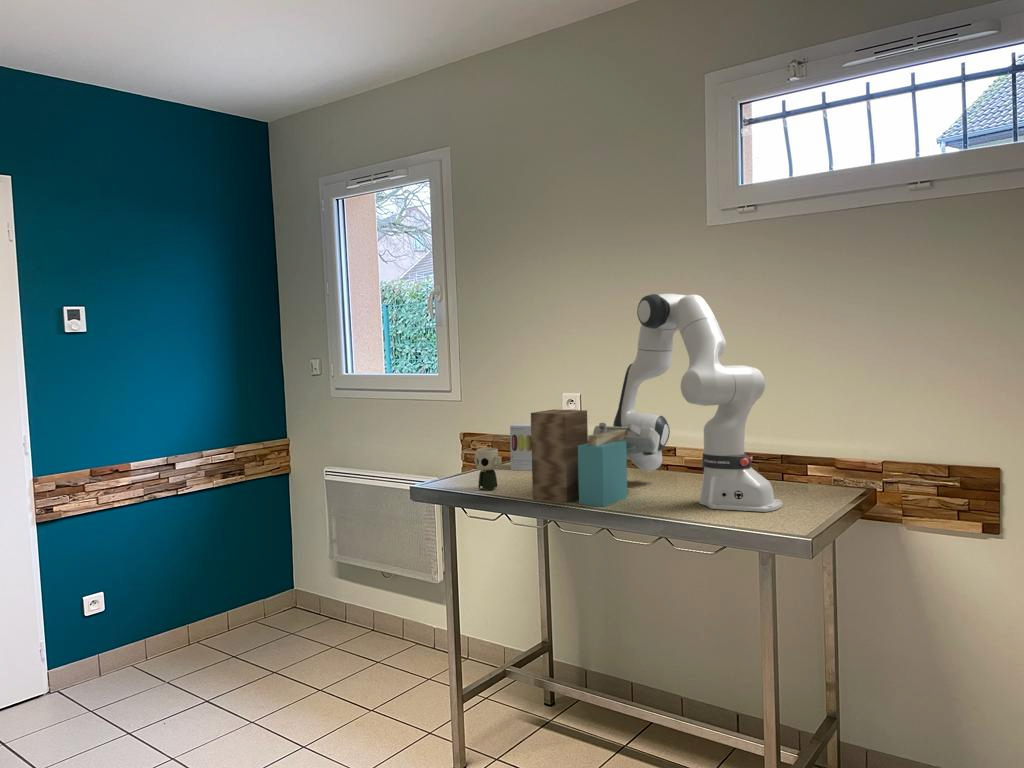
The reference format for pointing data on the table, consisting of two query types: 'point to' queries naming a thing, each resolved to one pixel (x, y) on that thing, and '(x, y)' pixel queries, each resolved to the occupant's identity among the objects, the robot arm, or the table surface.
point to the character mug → (487, 467)
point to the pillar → (557, 453)
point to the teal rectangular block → (602, 473)
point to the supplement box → (520, 446)
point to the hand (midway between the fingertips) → (615, 425)
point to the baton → (606, 437)
